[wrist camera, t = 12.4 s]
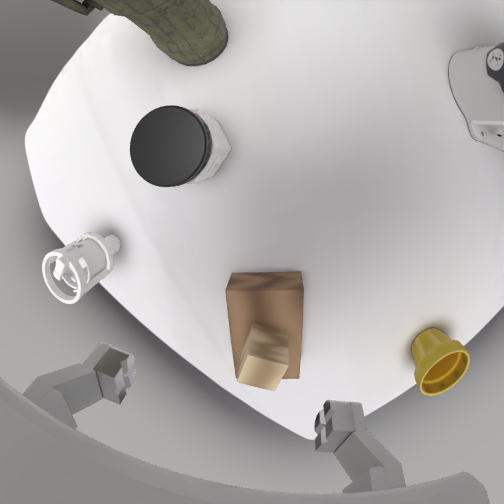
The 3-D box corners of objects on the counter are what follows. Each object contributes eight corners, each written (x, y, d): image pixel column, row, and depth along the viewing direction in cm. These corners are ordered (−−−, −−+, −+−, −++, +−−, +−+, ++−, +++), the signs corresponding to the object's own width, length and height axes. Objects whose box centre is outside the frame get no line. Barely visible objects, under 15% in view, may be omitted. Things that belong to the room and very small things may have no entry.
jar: (205, 190, 37) (175, 207, 26) (159, 160, 36) (114, 165, 25) (242, 136, 34) (226, 127, 23) (193, 106, 33) (158, 88, 22)
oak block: (287, 331, 37) (288, 365, 31) (275, 357, 39) (274, 391, 32) (252, 321, 37) (247, 355, 31) (242, 348, 39) (236, 381, 32)
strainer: (137, 239, 41) (81, 280, 27) (120, 271, 43) (68, 318, 29) (105, 213, 40) (42, 243, 26) (91, 246, 42) (33, 283, 28)
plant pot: (398, 334, 43) (418, 370, 33) (446, 309, 40) (471, 340, 31) (405, 369, 45) (421, 404, 36) (448, 347, 43) (468, 378, 34)
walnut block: (300, 270, 40) (303, 289, 35) (297, 354, 46) (299, 378, 40) (232, 272, 41) (225, 290, 36) (240, 354, 47) (235, 378, 41)
